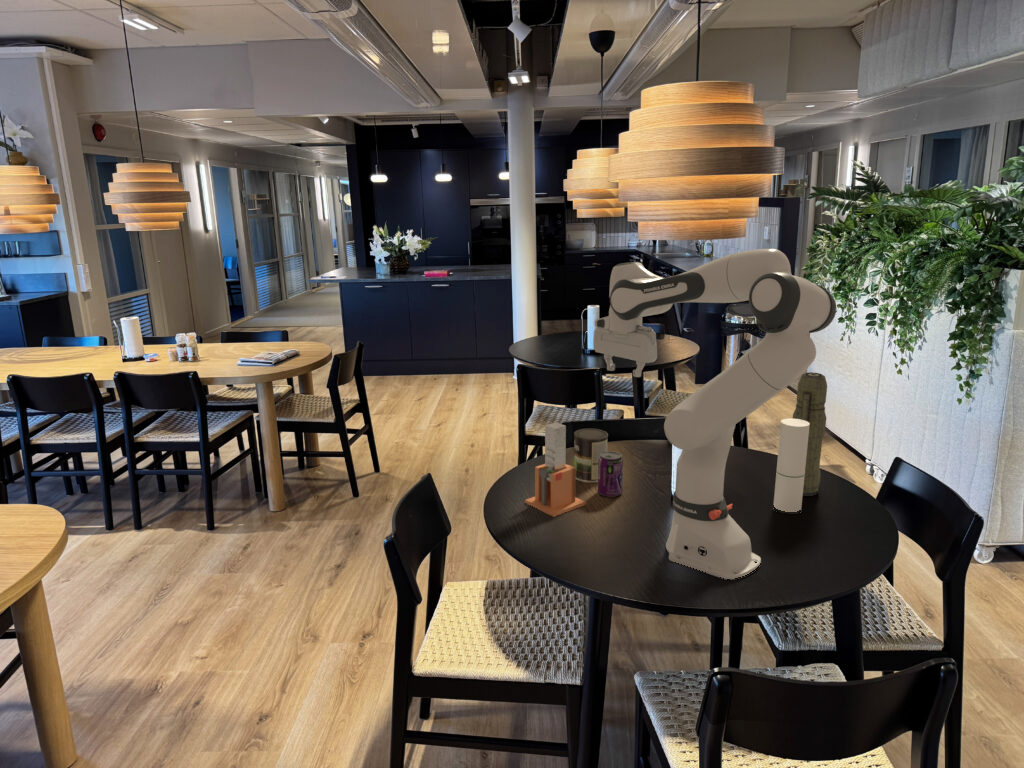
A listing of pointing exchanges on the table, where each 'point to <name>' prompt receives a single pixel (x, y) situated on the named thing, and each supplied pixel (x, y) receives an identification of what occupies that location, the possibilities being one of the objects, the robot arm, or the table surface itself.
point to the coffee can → (588, 453)
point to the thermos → (812, 423)
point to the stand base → (555, 491)
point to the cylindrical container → (791, 464)
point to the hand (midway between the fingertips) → (623, 373)
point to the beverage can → (610, 474)
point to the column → (555, 448)
